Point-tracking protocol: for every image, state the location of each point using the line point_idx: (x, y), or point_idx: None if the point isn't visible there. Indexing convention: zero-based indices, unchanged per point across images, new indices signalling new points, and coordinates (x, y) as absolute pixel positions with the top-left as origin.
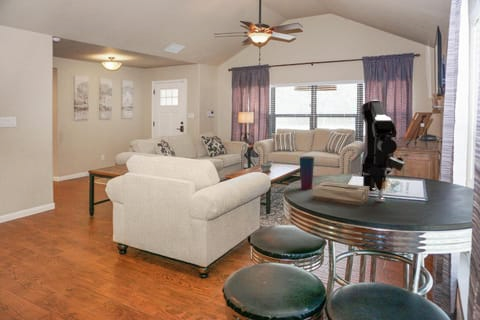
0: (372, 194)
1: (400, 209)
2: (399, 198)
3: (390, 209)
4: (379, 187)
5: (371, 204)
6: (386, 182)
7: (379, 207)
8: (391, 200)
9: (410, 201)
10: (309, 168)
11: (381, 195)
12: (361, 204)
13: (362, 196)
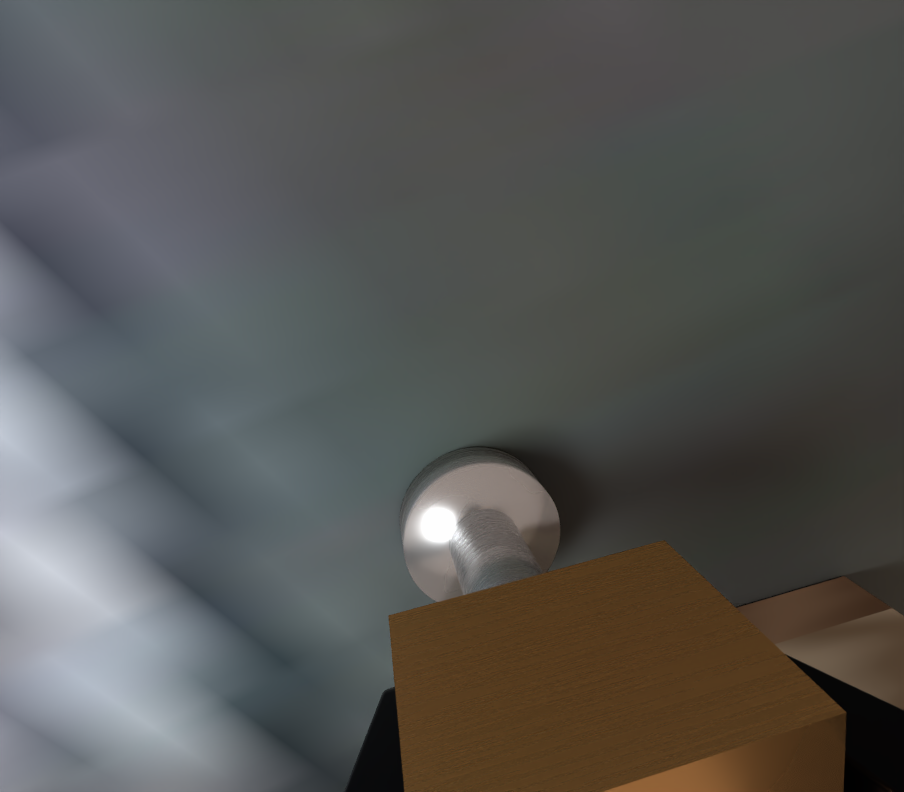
0: (141, 789)
1: (791, 46)
2: (32, 346)
3: (857, 187)
4: None
5: (728, 511)
6: (538, 730)
7: (824, 361)
8: (308, 399)
9: (100, 63)
10: None
11: (525, 543)
12: (831, 586)
13: (890, 676)
